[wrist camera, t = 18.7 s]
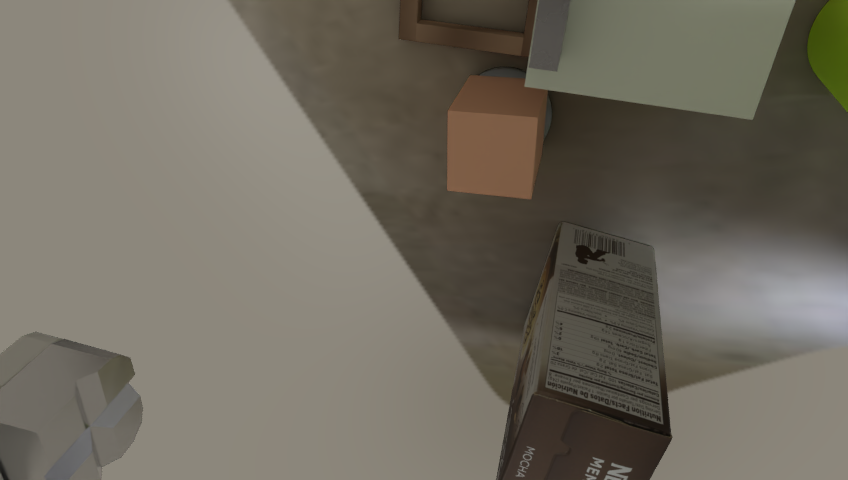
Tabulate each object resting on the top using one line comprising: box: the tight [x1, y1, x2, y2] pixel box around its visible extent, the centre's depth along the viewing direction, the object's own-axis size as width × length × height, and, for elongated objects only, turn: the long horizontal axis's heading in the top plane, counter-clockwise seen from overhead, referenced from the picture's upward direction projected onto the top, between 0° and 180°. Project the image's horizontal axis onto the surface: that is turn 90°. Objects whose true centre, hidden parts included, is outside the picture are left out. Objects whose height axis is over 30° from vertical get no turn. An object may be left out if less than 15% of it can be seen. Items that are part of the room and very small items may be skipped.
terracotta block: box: [447, 75, 548, 199], centre depth 36 cm, size 4×4×6 cm
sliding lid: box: [524, 0, 796, 120], centre depth 27 cm, size 10×7×3 cm
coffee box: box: [496, 222, 672, 480], centre depth 37 cm, size 9×6×16 cm
